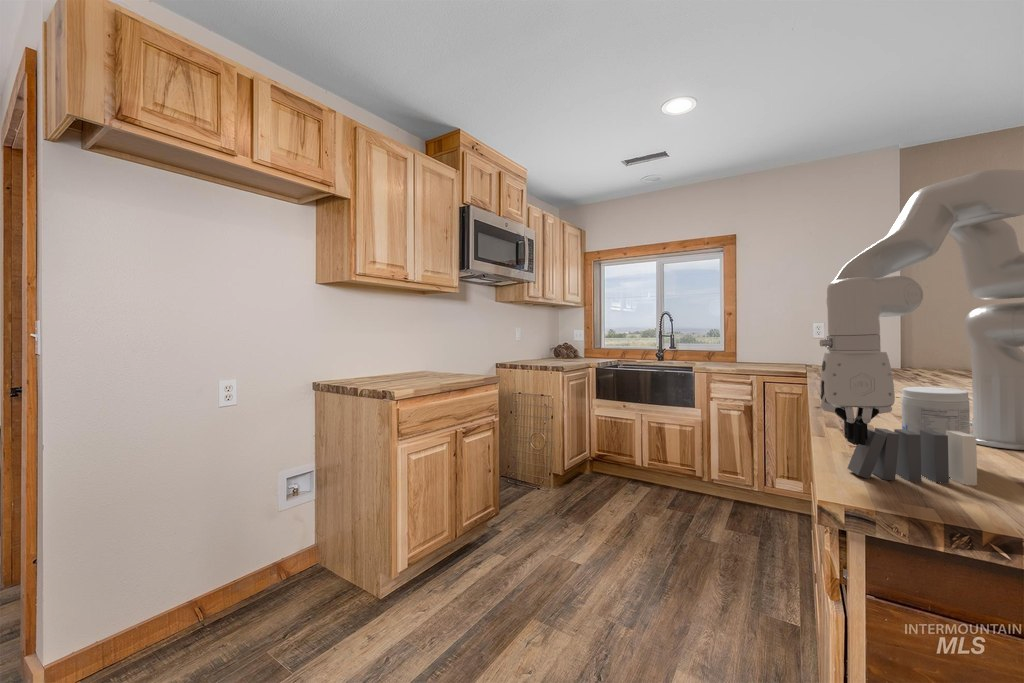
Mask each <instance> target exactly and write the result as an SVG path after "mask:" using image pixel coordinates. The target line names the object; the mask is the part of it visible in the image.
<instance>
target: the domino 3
mask: <svg viewBox="0 0 1024 683" xmlns="http://www.w3.org/2000/svg"><path fill="white" fill-rule="evenodd" d="M893 432H895V433H898V434H900V436H899V446H898V456H897V466H896V474H897V475H896V476H898V475H899V477H900V476H901V477H900V478H901V479H903V478H904V479H903V480H905V479H906V480H905V481H907V480H908V481H907V482H909V481H917V482H916V483H922V476H921V436H920V434H917V433H914V432H912V431H909V430H906V429H902V428H899V429H898V428H894V429H893Z"/></svg>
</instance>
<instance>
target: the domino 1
mask: <svg viewBox="0 0 1024 683" xmlns="http://www.w3.org/2000/svg"><path fill="white" fill-rule="evenodd" d="M867 431H868V438H867V440H865V445H860V444H858V445H855V448H854V451H853V453H852V455H851V458H850V460H849V464H848V465H847V469H848V470H849V471H851V472H852V473H853V474H855V475H857V476H859V477H862V478H865V479H866V480H867V479H868V480H870V479H871V476H872V474H873V473H872V472H873V469H874V467H875V464H876V462H877V459H878V457H879V455H880V452H881V450H882V447H883V445H884V442H885V440H886V437H887V436H885V435H883V434H880V433H878V432H876V431H875V430H872V429H869V428H867Z"/></svg>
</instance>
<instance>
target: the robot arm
mask: <svg viewBox="0 0 1024 683" xmlns="http://www.w3.org/2000/svg"><path fill="white" fill-rule="evenodd" d="M1021 216H1024V169H1002V168H1001V169H985V170H980V171H976V172H975V171H974V172H972V173H968V174H965V175H962V176H958V177H953V178H950V179H948V180H943V181H939V182H936V183H932V184H930V185H927V186H923V187H922V188H920V189H918V190H917V191H916V192H914V193H912V195H911V196H910V198H908V200H907V202H906V203H905V205H904V206H903V207H902V210H901V211H900V213H899V214H898V217H897V218H896V220H895V222H894V223H893V225H892V226H891V227H890V230H889V231H888V233H887V234H886V236H885V237H883V238H882V239H879V240H878V241H877V242H875V243H873V244H872V245H870V246H869V247H868V248H866V249H864V250H863V251H862V252H860V253H858V255H856V256H855V257H853V258H852V259H851V260H849V261H848V262H847V263H845V264H844V265H843V267H842V268H841V269H840V270H839V271H838V273H837V275H836V277H835V278H834V279H833V281H831V282H829V283H828V285H827V288H826V289H827V290H826V308H827V335H826V338H824V339H820V340H819V346H820V347H823V348H824V347H825V348H827V350H828V352H827V351H826V352H824V355H823V359H822V364H821V370H820V379H819V380H820V382H819V395H820V396H819V397H820V400H821V404H820V407H819V408H820V409H821V411H824V412H828V413H833V414H836V416H838V417H839V418H840V419H841V420H843V421H844V422H843V428H844V429H843V431H844V435H843V436H844V438H845V439H846V441H847V442H848V443H850V444H853V445H854V446H857V445H858V444H860V445H865V440H867V438H868V431H867V429H868V424H870V423H871V422H872V420H873V419H874V418H875V417H876V416H878V415H880V414H887V413H891V412H892V411H893V408H892V407H893V405H894V404H895V400H896V398H895V396H896V395H895V384H894V378H893V372H892V367H891V363H890V359H889V356H888V353H887V352H886V351H882V350H881V347H882V346H881V320H880V319H881V318H887V317H889V318H890V317H900V316H905V315H908V314H910V313H913V312H914V311H916V310H917V309H918V308H919V307H920V306H921V304H922V302H923V300H924V292H923V288H922V286H921V285H920V284H919V283H918V282H917V280H915V279H913V278H911V277H907V276H903V275H892V274H894V273H896V272H900V271H903V270H905V269H908V268H909V267H912V266H915V265H917V264H920V263H922V262H924V261H926V260H928V259H930V258H931V257H934V255H935V254H936V253H938V251H939V250H940V248H941V246H942V244H943V242H944V241H945V239H946V237H947V235H949V236H950V237H952V238H953V240H954V241H955V242H956V244H957V247H958V251H959V254H960V258H961V264H962V269H963V274H964V281H965V284H966V288H967V290H968V292H969V294H970V295H971V296H972V297H974V298H975V299H978V300H1007V299H1008V300H1009V299H1024V252H1023V251H1021V250H1020V247H1019V242H1018V238H1017V232H1016V230H1015V229H1014V227H1013V226H1012V225H1011V224H1009V222H1007V221H1005V220H1004V219H1008V218H1009V219H1010V218H1016V217H1021ZM890 274H891V275H892V276H889V275H890ZM964 330H965V333H966V337H967V340H968V344H969V349H970V357H971V358H970V359H971V384H972V386H971V389H972V394H971V395H972V420H970V427H972V432H971V431H970V435H973V436H976V445H981V446H986V447H993V448H997V449H999V448H1000V449H1007V450H1018V451H1019V450H1020V451H1024V351H1023V350H1022V349H1021V348H1020V347H1024V301H1023V302H1007V303H993V304H986V305H981V306H979V307H977V308H974V309H972V310H970V311H969V313H967V315H966V316H965V318H964ZM854 408H856V411H855V412H856V414H855V413H854Z"/></svg>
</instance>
